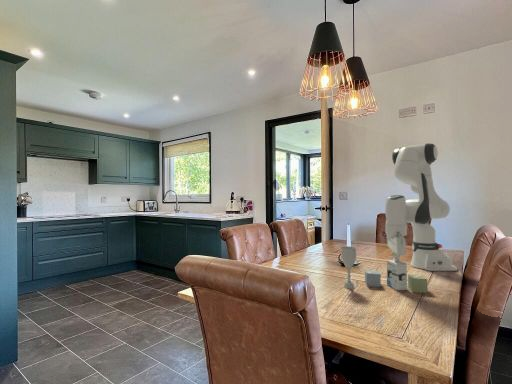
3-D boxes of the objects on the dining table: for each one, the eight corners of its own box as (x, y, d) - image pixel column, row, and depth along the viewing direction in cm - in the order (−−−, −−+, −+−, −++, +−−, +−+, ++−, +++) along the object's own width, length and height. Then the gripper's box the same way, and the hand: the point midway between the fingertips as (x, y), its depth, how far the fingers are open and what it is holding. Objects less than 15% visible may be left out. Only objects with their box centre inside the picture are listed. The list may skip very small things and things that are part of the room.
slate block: (378, 283, 138) (378, 270, 138) (380, 287, 132) (380, 273, 132) (364, 282, 139) (364, 269, 139) (366, 286, 133) (366, 273, 133)
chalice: (357, 285, 134) (357, 246, 134) (357, 290, 128) (357, 249, 128) (341, 283, 137) (340, 246, 137) (340, 288, 130) (340, 248, 130)
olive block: (422, 288, 129) (422, 274, 129) (427, 293, 124) (427, 278, 124) (408, 287, 131) (407, 274, 131) (411, 292, 125) (411, 277, 125)
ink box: (386, 284, 135) (386, 259, 135) (396, 284, 136) (396, 259, 136) (396, 290, 127) (396, 264, 127) (407, 290, 127) (407, 263, 127)
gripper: (410, 234, 120) (410, 267, 120) (398, 228, 140) (398, 256, 140) (393, 233, 122) (394, 266, 122) (384, 227, 142) (384, 256, 142)
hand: (396, 261), depth 131 cm, fingers closed
